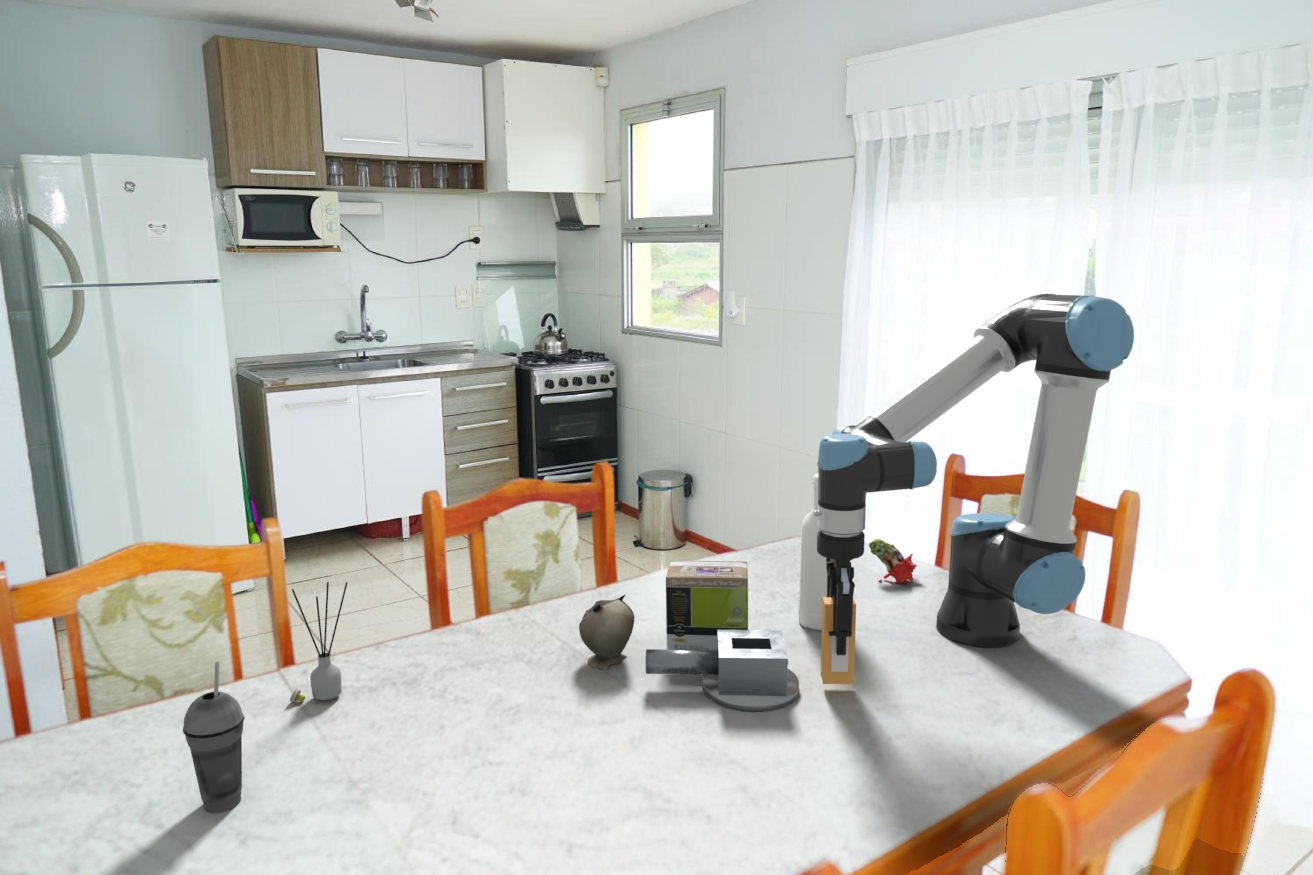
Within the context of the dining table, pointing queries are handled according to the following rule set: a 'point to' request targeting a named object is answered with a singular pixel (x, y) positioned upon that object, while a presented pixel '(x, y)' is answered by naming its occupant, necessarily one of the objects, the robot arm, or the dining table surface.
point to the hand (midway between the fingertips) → (837, 665)
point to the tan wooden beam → (827, 626)
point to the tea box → (704, 602)
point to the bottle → (811, 570)
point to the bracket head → (736, 669)
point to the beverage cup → (216, 747)
